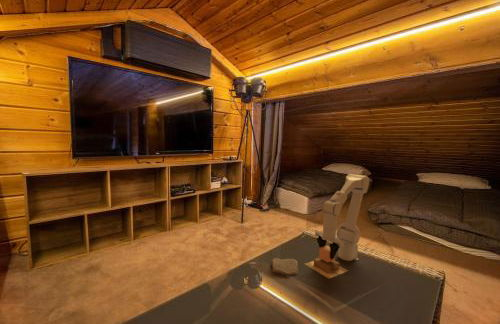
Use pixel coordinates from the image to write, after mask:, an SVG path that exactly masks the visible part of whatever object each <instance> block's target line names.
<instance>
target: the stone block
mask: <svg viewBox="0 0 500 324" xmlns="http://www.w3.org/2000/svg"><path fill="white" fill-rule="evenodd" d="M271 261H272V262H271V266H272V273H275V274H279V275H282V276H287V277H293V276H294V275H295V276H296V275H297V276H298V275H299V269H298V260H296V259H294V258H284V259H282V258H279V257H274V258H273V259H272V260H271ZM292 275H293V276H292Z"/></svg>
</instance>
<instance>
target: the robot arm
mask: <svg viewBox="0 0 500 324" xmlns="http://www.w3.org/2000/svg"><path fill="white" fill-rule="evenodd" d="M369 186H370V178H369V177H368V176H367V175H361V174H353V173H348V174H347V175H346V176H345V183H344V184H343V186H342V188H341V189H340V190H336V192H334V194H333V195H332V197H330V199H329V200H326V201H324V203H323V204H322V206H321V208H322V209H321V210H322V216H323V223H322V224H323V226H322V231H319V230H316V231H315V232H314V236H315V237H316V241H317V243H318V247H319V249H320V247H323V246H326V244H327V241H328V242H330V244H328V246H329V247H330V259H334V257H335V258H336V254H337V253H338V255H337V256H338V258H339V259H341V260H343V261H348V262H350V261H353V260H354V261H359V258H358V252H359V251H358V250H359V246H358V243H359V241H360V234H361V231H360V229H359V227H358V226H357V221H358V218H359V217H358V216H359V213H360V209H361V205H362V202H363V197H364V194H367V192H368V190H369ZM351 192H352V196H351V197H350V204H349V207H348V210H347V215H346V219H345V222H343V223H342V222H341V223H340V224H339V226H338V229H337V224H338V216H339V215H340V213H341V210H342V208H343V205H344V204H345V203H346V201H347V200H348V195H349V194H350V193H351Z"/></svg>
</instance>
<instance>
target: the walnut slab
mask: <svg viewBox="0 0 500 324" xmlns="http://www.w3.org/2000/svg"><path fill="white" fill-rule="evenodd" d="M313 261H314V266H316V267H317V268H319V269H321V270H322V271H324V272H326V273H327V274H328V273H330V272H333V271H336V270H338V269H339V266H340V262H339V261H336V260H334V261H331V262H326V261H324V260H322V259H320V258H319V257H317V258H314V259H313Z"/></svg>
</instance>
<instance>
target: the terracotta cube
mask: <svg viewBox="0 0 500 324" xmlns="http://www.w3.org/2000/svg"><path fill="white" fill-rule="evenodd" d="M318 258H320V259H322V260H324V261H326V262H331V261H334V260H335V259H336V256H335V257H334V259H330V246H329V245H325V246H323V247H320V248H319V252H318ZM335 261H336V260H335Z"/></svg>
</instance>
